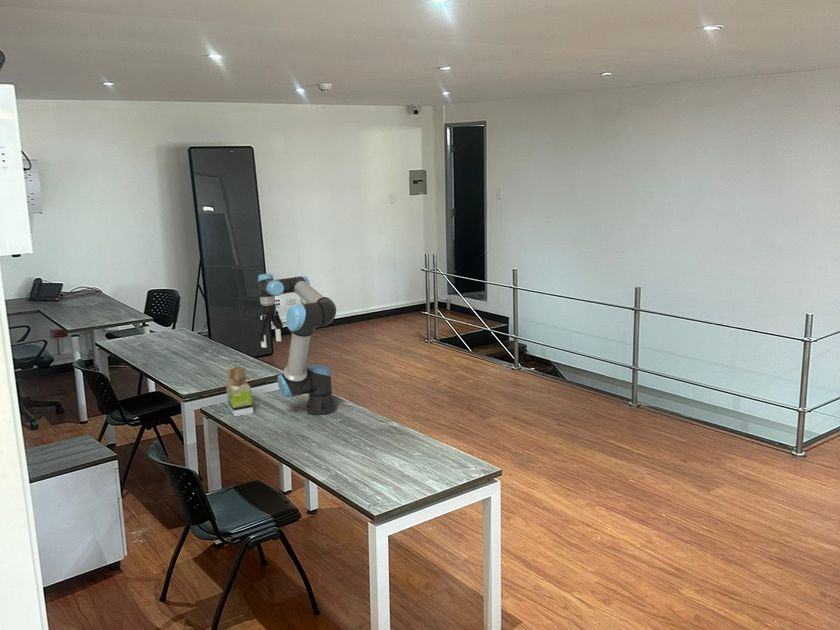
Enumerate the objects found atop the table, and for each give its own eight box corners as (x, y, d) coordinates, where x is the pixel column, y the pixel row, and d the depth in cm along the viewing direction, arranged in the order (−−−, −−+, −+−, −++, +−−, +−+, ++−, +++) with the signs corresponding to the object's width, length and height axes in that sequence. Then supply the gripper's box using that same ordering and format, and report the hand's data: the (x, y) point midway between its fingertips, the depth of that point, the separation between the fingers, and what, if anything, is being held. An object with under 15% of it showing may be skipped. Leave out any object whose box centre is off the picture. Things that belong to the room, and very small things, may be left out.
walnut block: (246, 382, 385) (244, 367, 384) (239, 386, 380) (237, 370, 378) (236, 382, 388) (235, 366, 386) (229, 385, 382) (227, 370, 381)
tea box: (228, 409, 391) (225, 382, 388) (247, 406, 395) (244, 379, 393) (234, 417, 378) (231, 389, 375) (254, 414, 382) (251, 386, 379)
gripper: (275, 299, 401) (278, 338, 405) (247, 308, 379) (251, 349, 383) (287, 299, 398) (290, 338, 402) (260, 308, 376) (263, 350, 380)
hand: (271, 344), depth 393 cm, fingers open, 13 cm apart
